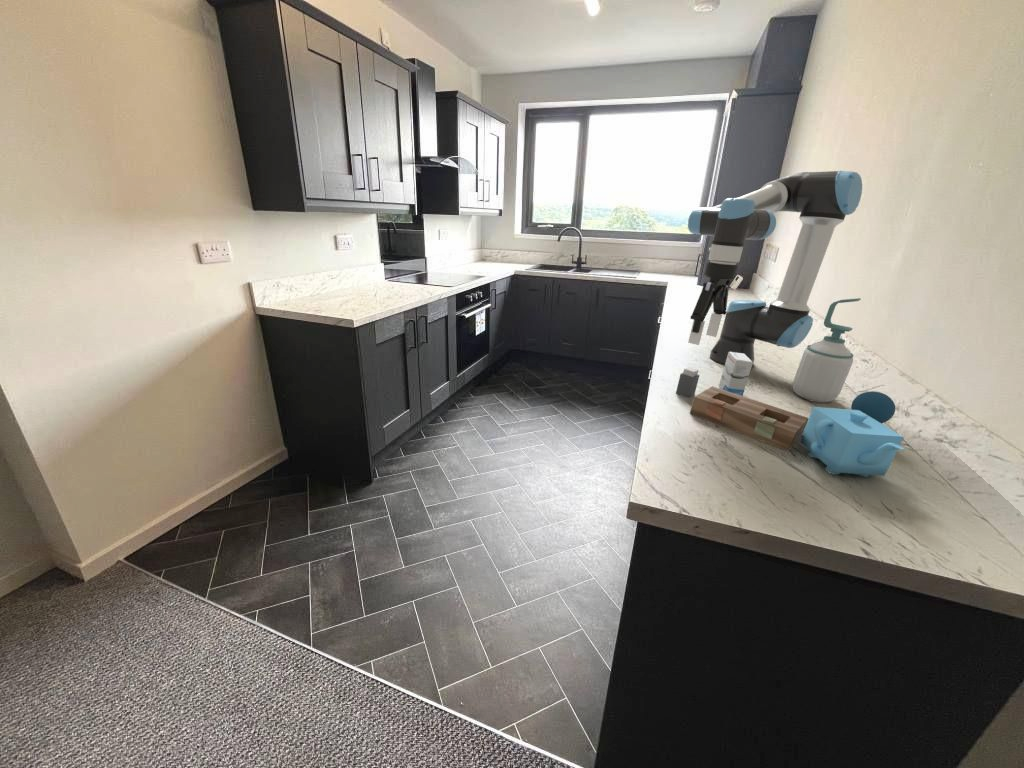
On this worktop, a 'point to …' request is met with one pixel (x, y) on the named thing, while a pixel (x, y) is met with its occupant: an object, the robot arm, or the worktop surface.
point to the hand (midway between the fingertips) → (702, 339)
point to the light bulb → (875, 405)
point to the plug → (688, 382)
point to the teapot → (850, 441)
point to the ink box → (735, 373)
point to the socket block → (750, 417)
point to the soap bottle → (824, 364)
